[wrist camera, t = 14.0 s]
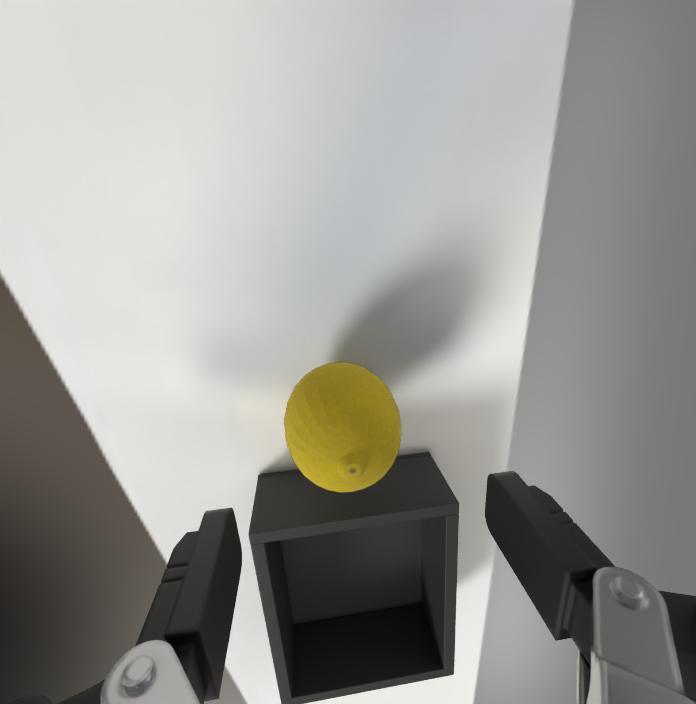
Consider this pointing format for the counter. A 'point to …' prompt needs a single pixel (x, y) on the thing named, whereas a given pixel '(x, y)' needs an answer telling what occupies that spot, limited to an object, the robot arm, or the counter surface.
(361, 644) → the tote
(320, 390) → the lemon
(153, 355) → the counter surface
